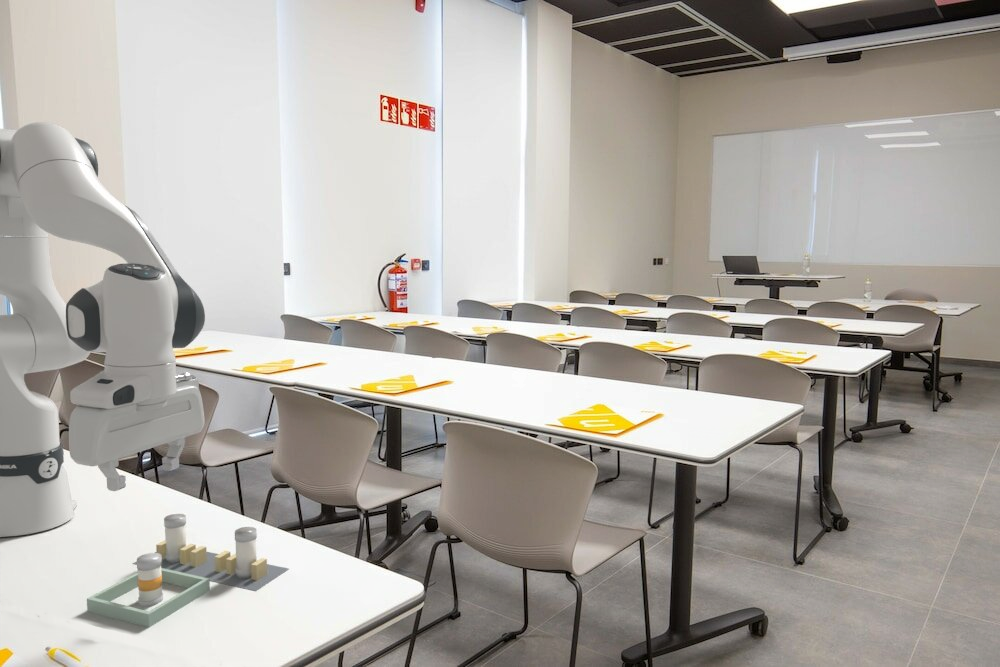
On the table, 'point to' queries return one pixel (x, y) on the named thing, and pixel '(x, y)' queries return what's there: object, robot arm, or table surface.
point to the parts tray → (149, 618)
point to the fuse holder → (219, 567)
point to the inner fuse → (174, 536)
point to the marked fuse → (149, 579)
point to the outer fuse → (245, 550)
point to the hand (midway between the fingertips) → (144, 478)
